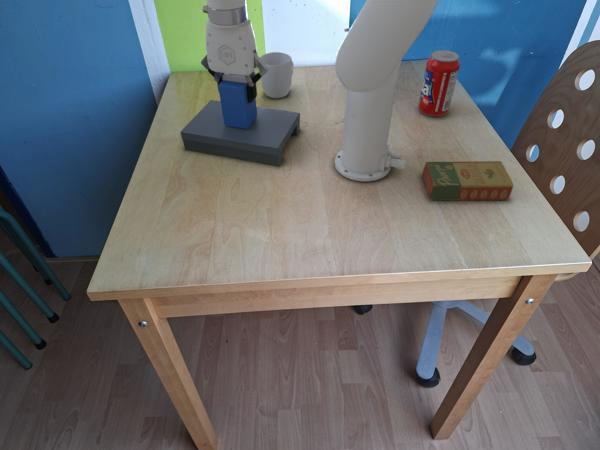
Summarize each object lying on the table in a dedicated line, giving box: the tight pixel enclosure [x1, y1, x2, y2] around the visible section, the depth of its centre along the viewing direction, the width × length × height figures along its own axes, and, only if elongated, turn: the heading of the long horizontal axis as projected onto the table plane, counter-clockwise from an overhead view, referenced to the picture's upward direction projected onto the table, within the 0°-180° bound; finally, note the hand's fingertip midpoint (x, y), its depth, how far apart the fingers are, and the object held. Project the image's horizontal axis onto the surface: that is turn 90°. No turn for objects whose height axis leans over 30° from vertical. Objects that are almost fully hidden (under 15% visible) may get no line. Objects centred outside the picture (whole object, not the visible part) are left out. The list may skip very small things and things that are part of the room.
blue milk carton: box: [217, 73, 258, 129], centre depth 97 cm, size 6×6×11 cm
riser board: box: [179, 99, 301, 167], centre depth 102 cm, size 24×16×5 cm, turn 72°
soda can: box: [418, 49, 461, 118], centre depth 107 cm, size 8×8×15 cm
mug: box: [259, 51, 295, 99], centre depth 119 cm, size 13×9×10 cm
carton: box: [421, 160, 515, 201], centre depth 88 cm, size 8×16×4 cm, turn 89°
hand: (238, 97), depth 96 cm, fingers closed on blue milk carton, 6 cm apart
